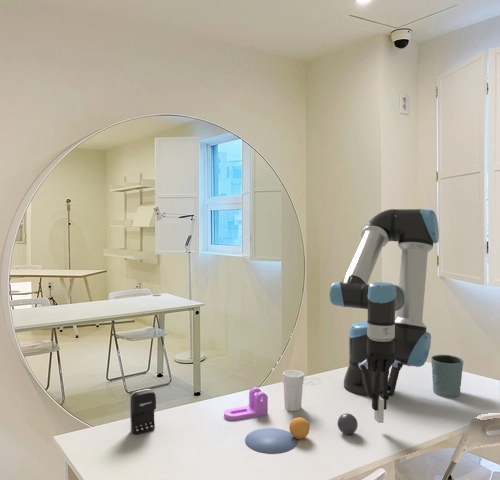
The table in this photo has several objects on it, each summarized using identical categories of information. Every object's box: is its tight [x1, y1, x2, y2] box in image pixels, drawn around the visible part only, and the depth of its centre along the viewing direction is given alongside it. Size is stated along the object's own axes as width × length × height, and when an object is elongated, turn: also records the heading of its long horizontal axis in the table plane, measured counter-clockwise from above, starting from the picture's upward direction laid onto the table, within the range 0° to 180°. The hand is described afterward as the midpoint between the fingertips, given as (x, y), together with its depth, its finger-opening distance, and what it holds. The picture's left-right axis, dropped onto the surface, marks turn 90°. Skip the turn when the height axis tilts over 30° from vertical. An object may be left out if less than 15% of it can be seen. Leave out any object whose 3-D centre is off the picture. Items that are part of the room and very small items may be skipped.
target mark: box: [244, 427, 298, 454], centre depth 130 cm, size 14×14×1 cm
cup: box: [282, 369, 305, 412], centre depth 152 cm, size 7×7×11 cm
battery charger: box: [129, 388, 157, 435], centre depth 135 cm, size 7×4×11 cm, turn 124°
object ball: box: [288, 416, 310, 440], centre depth 132 cm, size 6×6×6 cm
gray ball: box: [337, 413, 359, 435], centre depth 134 cm, size 6×6×6 cm
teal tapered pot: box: [430, 354, 464, 399], centre depth 164 cm, size 10×10×12 cm
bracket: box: [223, 386, 269, 421], centre depth 147 cm, size 13×6×7 cm, turn 114°
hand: (378, 420), depth 136 cm, fingers closed
